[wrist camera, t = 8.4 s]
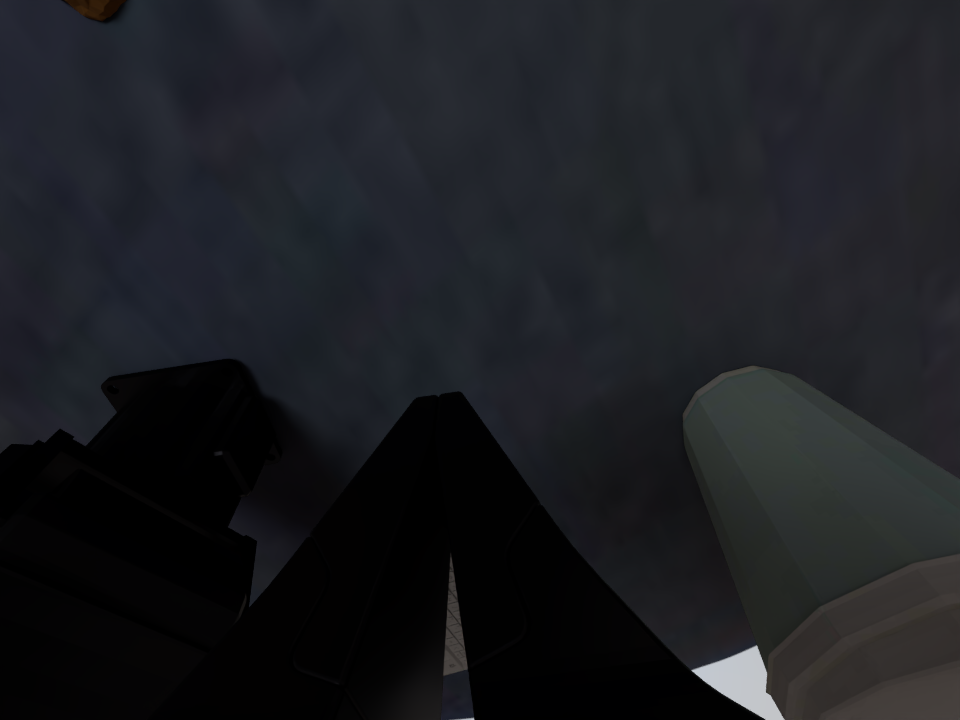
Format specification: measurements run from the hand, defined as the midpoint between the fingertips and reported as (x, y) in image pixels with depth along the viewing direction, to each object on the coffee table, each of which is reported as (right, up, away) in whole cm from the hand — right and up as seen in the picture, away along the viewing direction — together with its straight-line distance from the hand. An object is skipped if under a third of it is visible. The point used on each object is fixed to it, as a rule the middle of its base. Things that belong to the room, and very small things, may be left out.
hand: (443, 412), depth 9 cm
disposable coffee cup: (+15, -2, +18) cm, 23 cm away
